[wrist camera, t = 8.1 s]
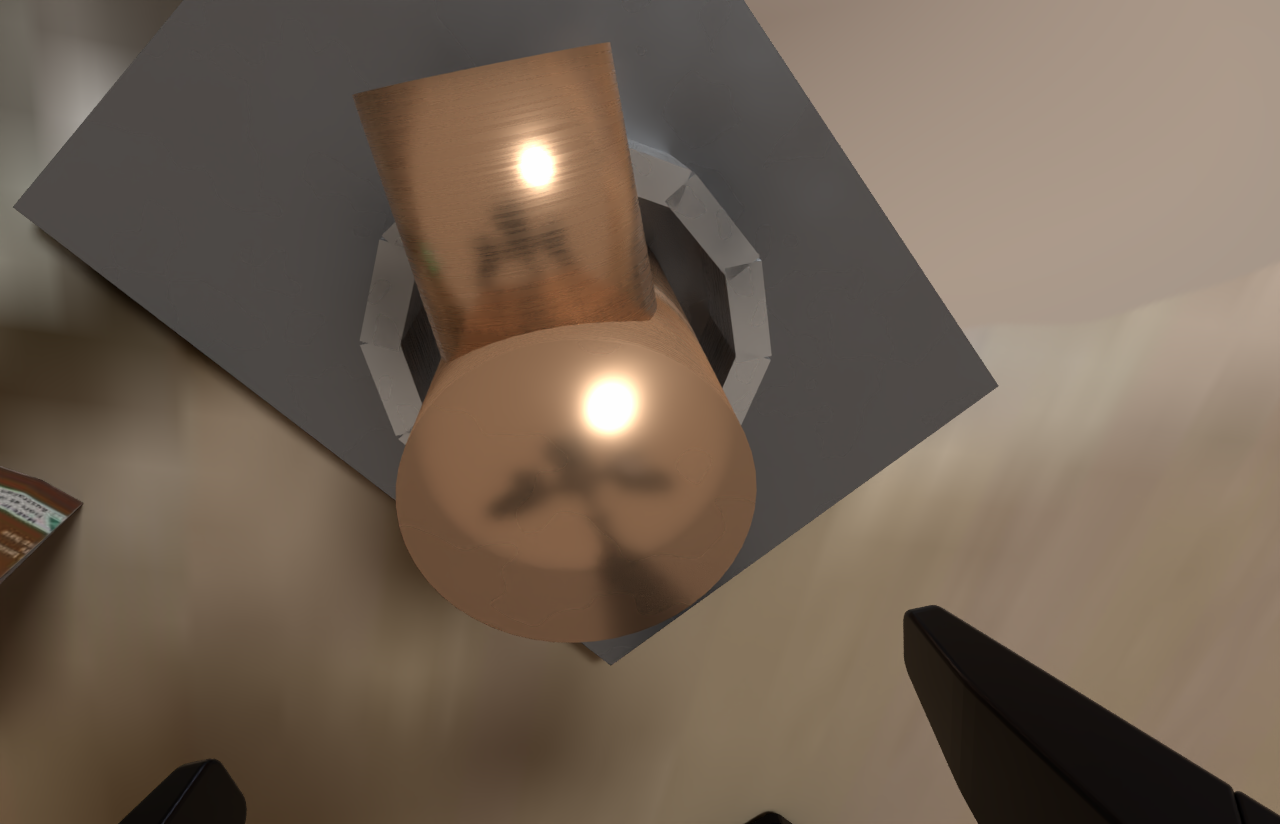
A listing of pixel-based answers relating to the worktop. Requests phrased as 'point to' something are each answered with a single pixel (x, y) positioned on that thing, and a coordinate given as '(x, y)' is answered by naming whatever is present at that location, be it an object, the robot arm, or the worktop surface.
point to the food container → (28, 516)
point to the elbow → (551, 361)
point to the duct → (380, 271)
